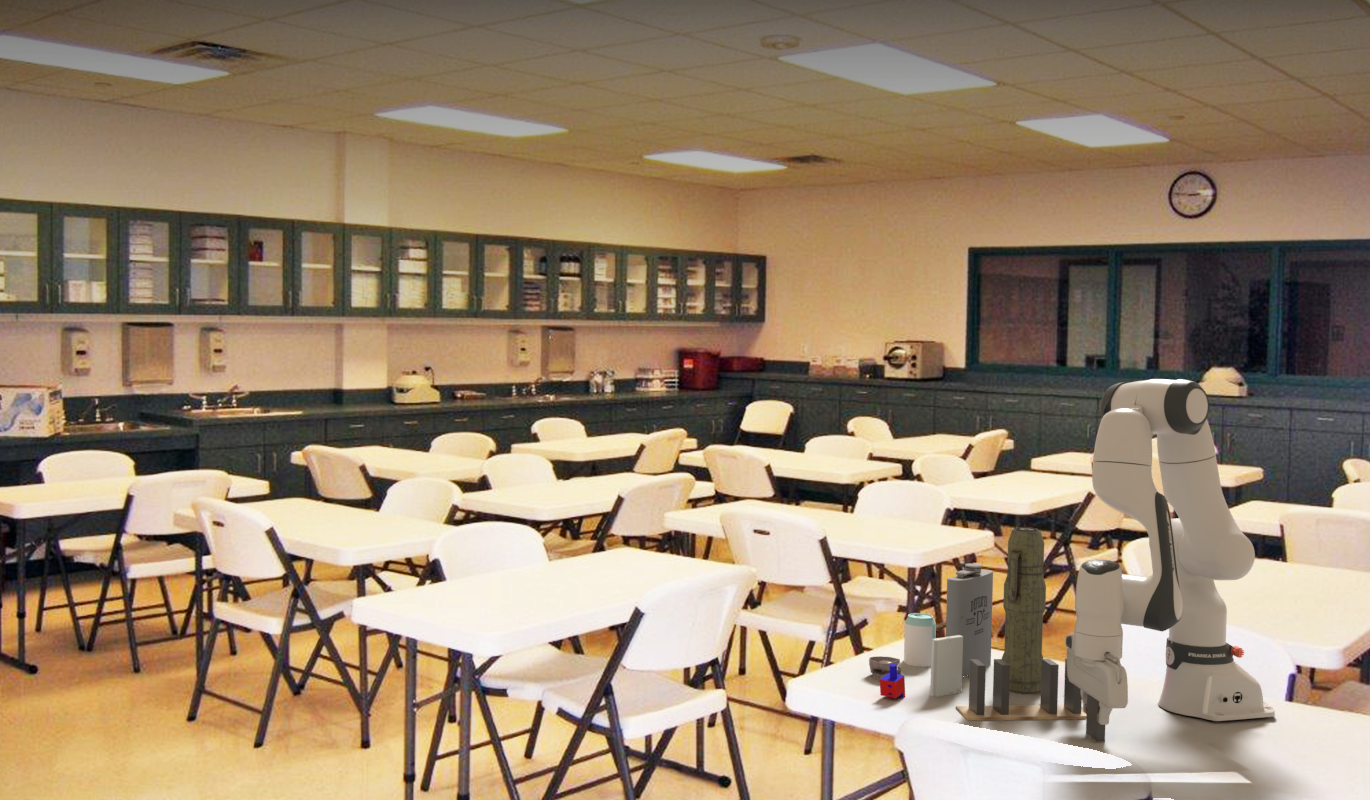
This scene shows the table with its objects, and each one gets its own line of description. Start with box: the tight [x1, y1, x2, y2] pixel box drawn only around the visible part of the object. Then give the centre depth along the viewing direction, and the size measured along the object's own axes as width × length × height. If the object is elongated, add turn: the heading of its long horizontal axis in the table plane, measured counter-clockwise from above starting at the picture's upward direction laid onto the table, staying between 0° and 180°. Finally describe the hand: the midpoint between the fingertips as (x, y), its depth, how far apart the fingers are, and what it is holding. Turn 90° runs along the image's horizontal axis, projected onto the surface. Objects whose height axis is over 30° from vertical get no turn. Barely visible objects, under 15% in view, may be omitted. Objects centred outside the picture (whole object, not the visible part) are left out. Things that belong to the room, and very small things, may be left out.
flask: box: [945, 563, 994, 678], centre depth 293 cm, size 17×5×25 cm, turn 141°
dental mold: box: [868, 656, 903, 683], centre depth 286 cm, size 8×7×5 cm
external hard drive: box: [929, 635, 963, 698], centre depth 275 cm, size 2×8×12 cm, turn 123°
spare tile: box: [1085, 694, 1106, 743], centre depth 247 cm, size 2×5×10 cm, turn 6°
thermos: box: [1001, 526, 1047, 696], centre depth 280 cm, size 9×12×35 cm
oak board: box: [955, 704, 1087, 721], centre depth 262 cm, size 26×8×1 cm, turn 96°
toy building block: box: [879, 664, 906, 699], centre depth 270 cm, size 4×4×8 cm
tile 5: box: [1063, 658, 1083, 714], centre depth 263 cm, size 2×5×10 cm, turn 6°
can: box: [903, 612, 937, 668], centre depth 299 cm, size 7×7×12 cm
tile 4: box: [1039, 658, 1059, 714], centre depth 262 cm, size 2×5×10 cm, turn 6°
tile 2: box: [992, 658, 1010, 715], centre depth 262 cm, size 2×5×10 cm, turn 6°
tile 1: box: [968, 659, 987, 715], centre depth 261 cm, size 2×5×10 cm, turn 6°
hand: (1095, 718), depth 247 cm, fingers closed on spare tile, 5 cm apart
